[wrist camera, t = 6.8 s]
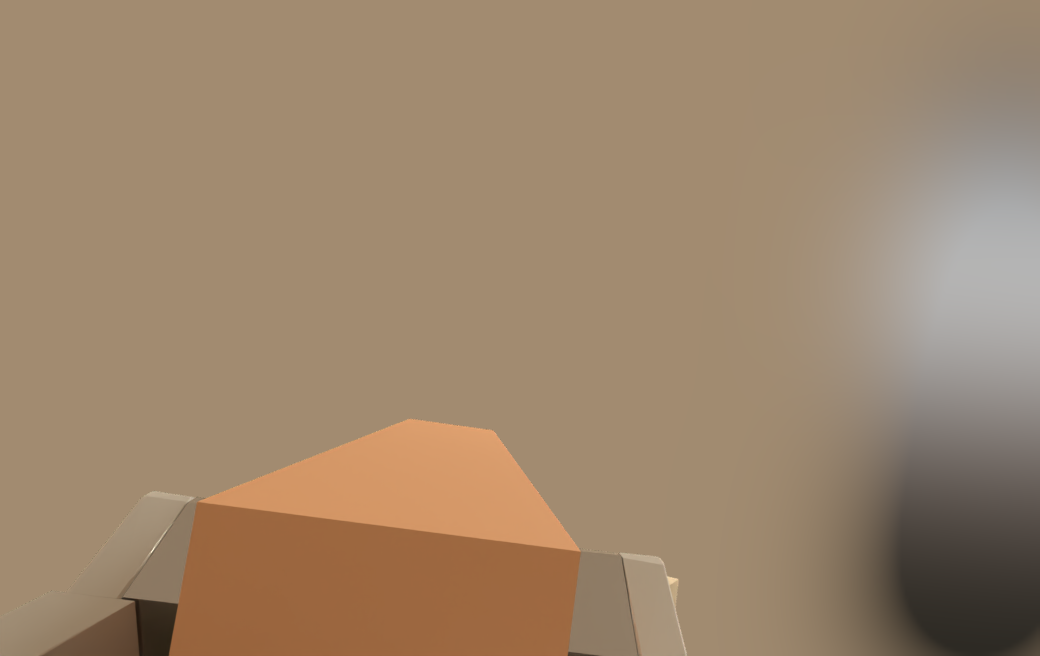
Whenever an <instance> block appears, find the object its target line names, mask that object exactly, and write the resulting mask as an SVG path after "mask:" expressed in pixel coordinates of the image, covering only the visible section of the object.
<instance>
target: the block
mask: <svg viewBox="0 0 1040 656" xmlns="http://www.w3.org/2000/svg"><path fill="white" fill-rule="evenodd" d="M580 555H581V551H580V550H579V548H578V547H577V545H576V544H575V543H574V541H573V540H572V539H571V537H570V536H569V534H568V533H567V532H566V530H565V529H564V528H563V526H562V525H561V523H560V522H559V521H558V519H557V518H556V517H555V515H554V514H553V512H552V511H551V510H550V508H549V507H548V505H547V504H546V503H545V501H544V500H543V498H542V497H541V496H540V494H539V493H538V492H537V490H536V489H535V487H534V486H533V485H532V483H531V482H530V481H529V479H528V478H527V476H526V475H525V474H524V472H523V471H522V469H521V468H520V467H519V465H518V464H517V463H516V461H515V460H514V459H513V457H512V456H511V454H510V453H509V451H508V450H507V449H506V447H505V446H504V445H503V443H502V442H501V441H500V439H499V438H498V436H497V435H496V434H495V432H494V431H493V430H487V429H479V428H472V427H465V426H458V425H451V424H442V423H436V422H429V421H422V420H414V419H408V420H405V421H403V422H400V423H397V424H395V425H392V426H390V427H387V428H385V429H382V430H380V431H377V432H374V433H372V434H369V435H367V436H364V437H362V438H359V439H357V440H354V441H352V442H349V443H346V444H344V445H341V446H339V447H336V448H334V449H331V450H328V451H326V452H323V453H321V454H318V455H316V456H313V457H310V458H308V459H305V460H303V461H300V462H298V463H295V464H293V465H290V466H288V467H285V468H283V469H280V470H277V471H275V472H272V473H270V474H267V475H265V476H262V477H259V478H257V479H254V480H252V481H249V482H247V483H244V484H242V485H239V486H236V487H234V488H231V489H229V490H226V491H224V492H221V493H218V494H216V495H214V496H211V497H208V498H206V499H203V500H200V501H198V502H197V505H196V510H195V516H194V521H193V527H192V532H191V538H190V543H189V548H188V554H187V559H186V565H185V570H184V576H183V581H182V586H181V592H180V597H179V603H178V608H177V614H176V619H175V625H174V630H173V635H172V641H171V646H170V652H169V656H568V649H569V641H570V633H571V625H572V617H573V610H574V602H575V594H576V586H577V578H578V570H579V563H580Z"/></svg>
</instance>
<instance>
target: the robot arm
mask: <svg viewBox="0 0 1040 656" xmlns="http://www.w3.org/2000/svg"><path fill="white" fill-rule="evenodd" d="M203 499H206V498H201V497H196V498H194V497H189V496H183V495H176V494H169V493H163V492H157V491H153V492H151V493H149V494H147V495H145V496H143V497H142V498H141V499H140V500H139V501H138V502H137V504H136V505H135V506H134V507H133V509H132V510H131V511H130V513H129V514H128V515H127V516H126V518H125V519H124V520H123V521H122V522H121V524H120V525H119V526H118V528H117V529H116V530H115V531H114V532H113V534H112V535H111V536H110V538H109V539H108V540H107V541H106V542H105V544H104V545H103V546H102V548H101V549H100V550H99V551H98V552H97V554H96V555H95V556H94V558H93V559H92V560H91V561H90V563H89V564H88V565H87V566H86V568H85V569H84V570H83V571H82V573H81V574H80V575H79V576H78V578H77V579H76V580H75V581H74V583H73V584H72V585H71V586H70V588H69V589H68V590H67V591H66V592H58V591H50V592H48V593H46V594H44V595H42V596H40V597H38V598H36V599H34V600H32V601H30V602H28V603H26V604H24V605H22V606H20V607H18V608H16V609H14V610H12V611H10V612H8V613H6V614H4V615H2V616H0V656H169V652H170V646H171V641H172V635H173V630H174V625H175V619H176V614H177V608H178V603H179V597H180V592H181V586H182V581H183V576H184V570H185V565H186V559H187V554H188V548H189V543H190V538H191V532H192V527H193V521H194V516H195V510H196V505H197V502H198V501H200V500H203ZM579 550H580V551H581V555H580V563H579V570H578V578H577V586H576V594H575V602H574V610H573V617H572V625H571V633H570V641H569V649H568V656H687V653H686V649H685V645H684V641H683V637H682V633H681V629H680V625H679V621H678V617H677V613H676V609H675V605H674V601H673V597H672V593H671V589H670V585H669V581H668V577H667V573H666V569H665V565H664V563H663V561H662V560H661V559H660V558H659V557H655V556H646V555H637V554H628V553H618V554H616V553H611V552H603V551H595V550H587V549H579Z"/></svg>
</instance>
